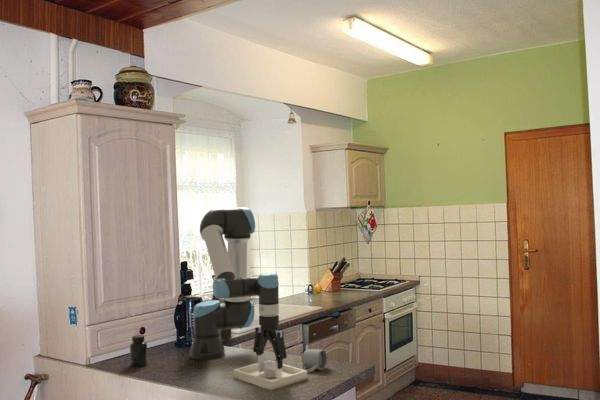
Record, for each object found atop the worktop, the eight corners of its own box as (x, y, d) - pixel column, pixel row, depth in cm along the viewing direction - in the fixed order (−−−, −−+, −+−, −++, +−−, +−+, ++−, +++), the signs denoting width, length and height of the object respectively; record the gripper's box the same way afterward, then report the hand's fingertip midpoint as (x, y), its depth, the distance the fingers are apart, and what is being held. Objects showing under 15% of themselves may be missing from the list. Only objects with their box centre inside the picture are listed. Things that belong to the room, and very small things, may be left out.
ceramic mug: (309, 364, 229) (309, 345, 229) (327, 367, 225) (327, 347, 225) (296, 371, 220) (296, 352, 220) (315, 374, 216) (314, 354, 216)
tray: (233, 377, 213) (233, 369, 213) (268, 367, 226) (268, 360, 226) (271, 390, 197) (271, 381, 197) (307, 378, 210) (307, 370, 210)
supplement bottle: (139, 361, 237) (139, 333, 238) (150, 364, 234) (150, 335, 234) (126, 366, 232) (126, 336, 232) (138, 368, 228) (138, 338, 228)
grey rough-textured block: (274, 386, 208) (278, 373, 207) (258, 381, 209) (261, 368, 207) (280, 371, 218) (283, 358, 216) (264, 366, 218) (267, 354, 217)
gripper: (243, 312, 217) (244, 370, 217) (281, 320, 202) (282, 382, 201) (257, 309, 222) (258, 366, 222) (296, 316, 207) (297, 378, 207)
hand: (269, 374), depth 212 cm, fingers closed on grey rough-textured block, 9 cm apart
